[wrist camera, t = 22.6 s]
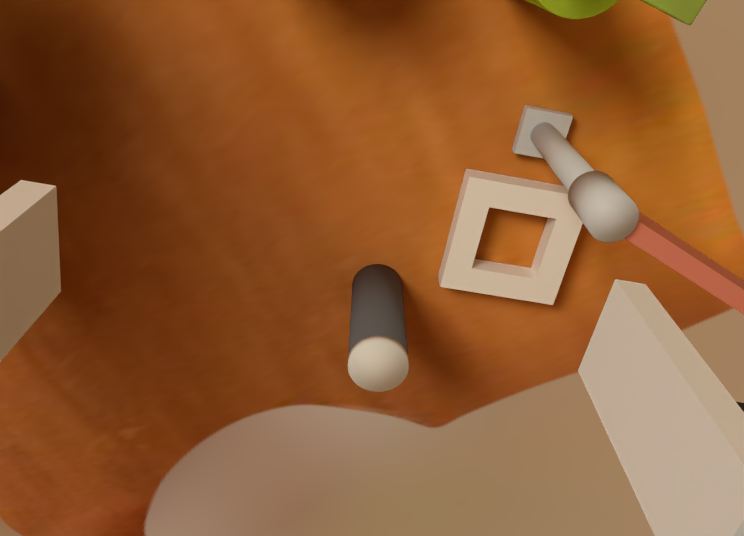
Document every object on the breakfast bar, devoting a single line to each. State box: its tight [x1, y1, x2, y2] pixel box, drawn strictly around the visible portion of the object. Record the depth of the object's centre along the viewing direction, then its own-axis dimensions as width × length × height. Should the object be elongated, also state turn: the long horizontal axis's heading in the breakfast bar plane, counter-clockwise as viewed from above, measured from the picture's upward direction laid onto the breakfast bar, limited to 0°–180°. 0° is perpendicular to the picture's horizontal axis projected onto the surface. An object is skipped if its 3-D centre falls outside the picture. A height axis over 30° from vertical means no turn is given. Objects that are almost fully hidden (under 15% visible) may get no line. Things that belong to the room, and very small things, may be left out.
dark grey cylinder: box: [348, 264, 409, 392], centre depth 52 cm, size 4×4×12 cm
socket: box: [438, 105, 594, 305], centre depth 48 cm, size 10×16×13 cm, turn 170°
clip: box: [568, 171, 744, 314], centre depth 39 cm, size 3×14×4 cm, turn 58°
